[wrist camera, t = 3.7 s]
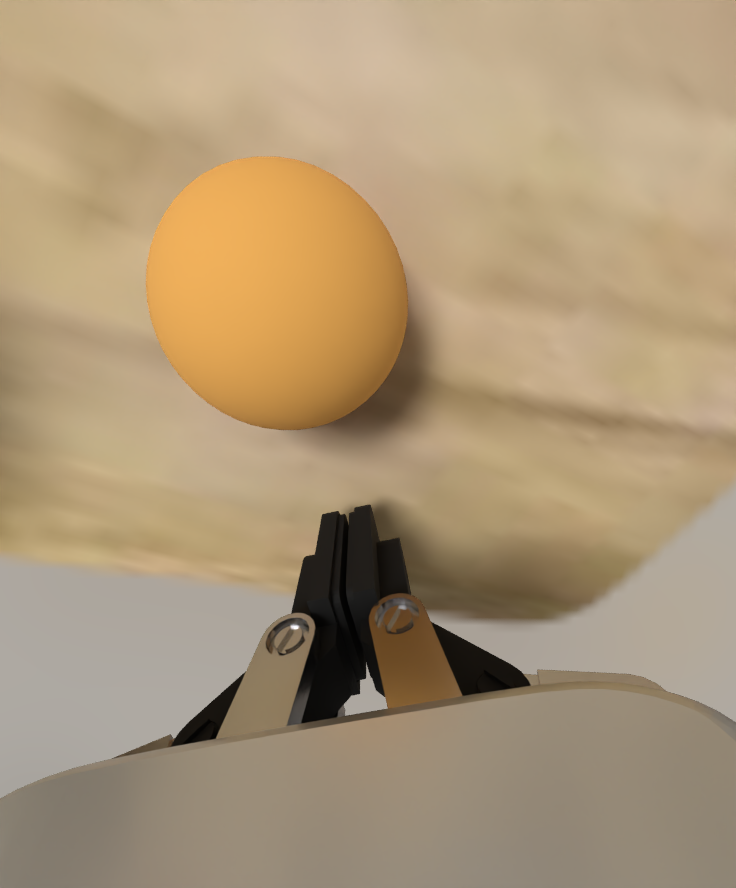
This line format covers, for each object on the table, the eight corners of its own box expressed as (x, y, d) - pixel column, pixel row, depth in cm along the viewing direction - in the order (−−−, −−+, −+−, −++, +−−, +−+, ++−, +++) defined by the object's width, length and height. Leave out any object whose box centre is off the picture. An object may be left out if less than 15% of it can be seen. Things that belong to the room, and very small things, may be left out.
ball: (376, 182, 10) (396, 37, 5) (409, 381, 12) (448, 437, 7) (182, 227, 10) (-7, 138, 5) (245, 414, 12) (157, 494, 7)
